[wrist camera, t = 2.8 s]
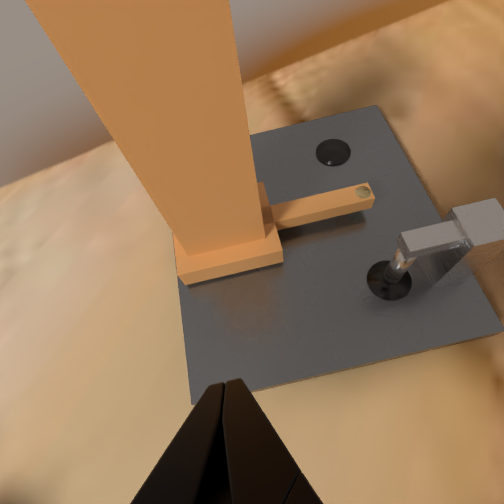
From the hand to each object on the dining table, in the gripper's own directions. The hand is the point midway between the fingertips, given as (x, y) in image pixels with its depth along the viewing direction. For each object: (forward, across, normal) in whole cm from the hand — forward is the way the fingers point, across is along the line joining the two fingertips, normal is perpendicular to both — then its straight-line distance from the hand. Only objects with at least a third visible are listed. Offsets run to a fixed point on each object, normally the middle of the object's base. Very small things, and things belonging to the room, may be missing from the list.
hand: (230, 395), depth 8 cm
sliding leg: (+14, -3, 0) cm, 14 cm away
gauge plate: (+14, -5, +1) cm, 15 cm away
